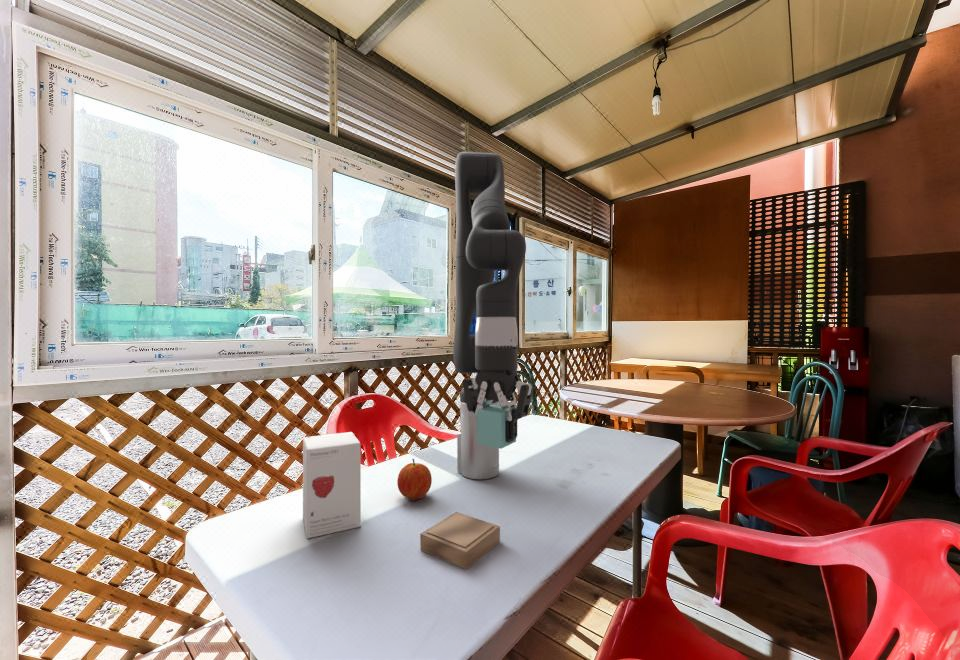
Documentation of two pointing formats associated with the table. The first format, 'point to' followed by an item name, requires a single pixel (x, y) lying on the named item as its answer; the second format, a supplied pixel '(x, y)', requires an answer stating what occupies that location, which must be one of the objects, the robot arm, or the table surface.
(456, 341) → the robot arm
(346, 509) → the supplement box
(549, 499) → the table surface
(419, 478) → the fruit
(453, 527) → the walnut base
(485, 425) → the teal block
